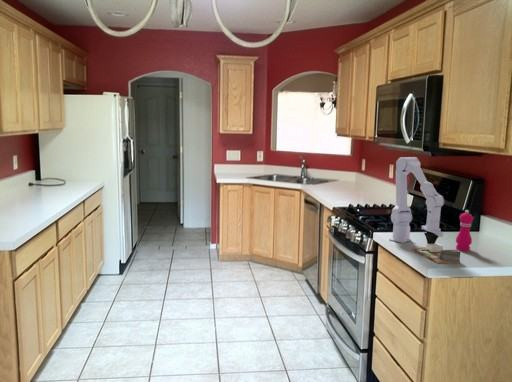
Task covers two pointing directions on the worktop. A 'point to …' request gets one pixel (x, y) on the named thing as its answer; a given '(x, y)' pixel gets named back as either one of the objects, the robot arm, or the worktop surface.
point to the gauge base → (437, 260)
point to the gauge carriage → (433, 248)
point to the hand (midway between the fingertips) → (430, 247)
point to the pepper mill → (464, 232)
